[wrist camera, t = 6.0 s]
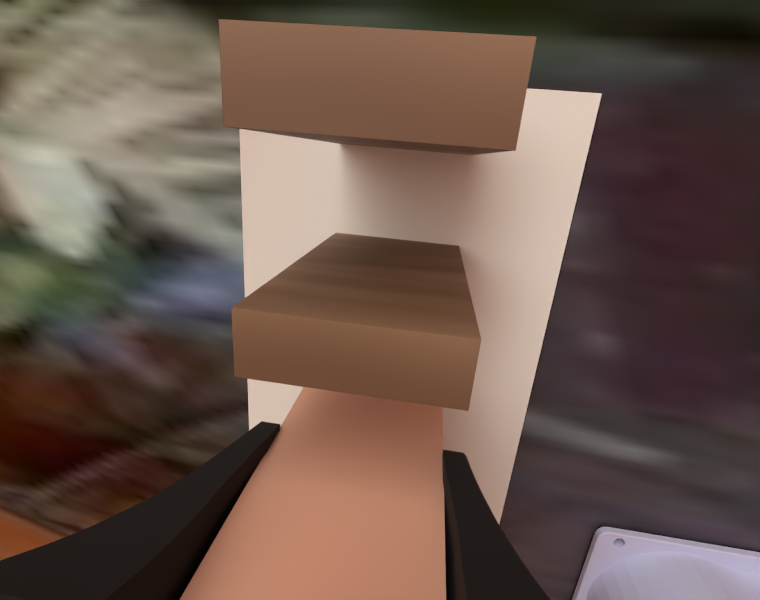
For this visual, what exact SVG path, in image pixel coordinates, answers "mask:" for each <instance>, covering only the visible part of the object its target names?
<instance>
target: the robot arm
mask: <svg viewBox="0 0 760 600" xmlns="http://www.w3.org/2000/svg"><path fill="white" fill-rule="evenodd" d="M279 430H280V424H276V423H270V422H263V421H261V422H260V423H259V424H257V425H256V426H255V427H253V428H252V429H250V430H249V431H248V432H247V433H245V434H244V435H243V436H241V437H240V438H239V439H237V440H236V441H235V442H233V443H232V444H231V445H229V446H228V447H227V448H225V449H224V450H223V451H221V452H220V453H219V454H217V455H216V456H214V457H213V458H212V459H210V460H209V461H208V462H206V463H205V464H203V465H202V466H200V467H199V468H197V469H196V470H194V471H193V472H191V473H190V474H188V475H187V476H185V477H184V478H182V479H181V480H179V481H178V482H176V483H174V484H173V485H171V486H169V487H168V488H166V489H164V490H163V491H161V492H159V493H157V494H156V495H154V496H152V497H150V498H148V499H147V500H145V501H143V502H141V503H139V504H137V505H135V506H133V507H131V508H129V509H127V510H125V511H123V512H121V513H119V514H117V515H115V516H113V517H111V518H109V519H107V520H104V521H102V522H100V523H98V524H96V525H93V526H91V527H89V528H86V529H84V530H82V531H80V532H77V533H75V534H72V535H70V536H67V537H65V538H62V539H60V540H57V541H55V542H52V543H49V544H47V545H44V546H41V547H38V548H36V549H33V550H30V551H27V552H24V553H21V554H18V555H15V556H12V557H10V558H7V559H4V560H1V561H0V600H180V598H181V596H182V595H183V593H184V591H185V589H186V588H187V586H188V584H189V583H190V581H191V579H192V577H193V576H194V574H195V572H196V571H197V569H198V567H199V565H200V564H201V562H202V560H203V559H204V557H205V555H206V553H207V552H208V550H209V548H210V547H211V545H212V543H213V541H214V540H215V538H216V536H217V535H218V533H219V531H220V529H221V528H222V526H223V524H224V523H225V521H226V519H227V517H228V516H229V514H230V512H231V511H232V509H233V507H234V505H235V504H236V502H237V500H238V499H239V497H240V495H241V494H242V492H243V490H244V488H245V487H246V485H247V483H248V482H249V480H250V478H251V476H252V475H253V473H254V471H255V470H256V468H257V466H258V464H259V463H260V461H261V459H262V458H263V457H264V455H265V454H266V452H267V451H268V449H269V448H270V446H271V444H272V442H273V441H274V439H275V437H276V436H277V434H278V432H279ZM442 467H443V486H444V510H445V563H446V600H550V598H549V597H548V596H547V595H546V593H545V592H544V591H543V590H542V588H541V587H540V585H539V584H538V583H537V581H536V580H535V579H534V577H533V576H532V575H531V573H530V572H529V571H528V569H527V568H526V566H525V565H524V563H523V562H522V560H521V559H520V558H519V556H518V555H517V553H516V551H515V550H514V548H513V547H512V545H511V544H510V542H509V540H508V539H507V537H506V535H505V534H504V532H503V530H502V529H501V527H500V525H499V524H498V522H497V520H496V518H495V517H494V515H493V513H492V511H491V509H490V507H489V505H488V503H487V501H486V499H485V498H484V496H483V494H482V492H481V489H480V487H479V485H478V483H477V481H476V479H475V476H474V474H473V472H472V469H471V467H470V464H469V462H468V459H467V456H466V455H465V454H464V453H462V452H456V451H450V450H443V453H442ZM616 539H618V540H616ZM572 600H760V552H755V551H749V550H743V549H737V548H731V547H725V546H719V545H713V544H707V543H701V542H695V541H689V540H683V539H677V538H672V537H666V536H660V535H654V534H648V533H642V532H636V531H630V530H624V529H618V528H612V527H601V528H599V529H597V530H596V532H595V534H594V537H593V540H592V542H591V545H590V548H589V551H588V554H587V557H586V560H585V563H584V566H583V569H582V571H581V574H580V577H579V580H578V583H577V586H576V589H575V592H574V595H573V597H572Z"/></svg>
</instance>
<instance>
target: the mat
mask: <svg viewBox="0 0 760 600" xmlns="http://www.w3.org/2000/svg"><path fill="white" fill-rule="evenodd" d="M601 95H602V94H600V93H586V92H571V91H556V90H541V89H527V91H526V97H525V102H524V108H523V113H522V119H521V124H520V130H519V135H518V141H517V146H516V151H506V152H497V153H487V154H478V155H466V154H454V153H442V152H430V151H419V150H407V149H395V148H383V147H371V146H360V145H348V144H338V143H331V142H324V141H318V140H311V139H304V138H298V137H291V136H284V135H278V134H271V133H265V132H258V131H251V130H245V129H240V158H241V189H242V220H243V251H244V282H245V298H246V297H247V296H249V295H250V294H251V293H253V292H254V291H255V290H257V289H258V288H260V287H261V286H262V285H264V284H265V283H267V282H268V281H269V280H271V279H272V278H274V277H275V276H276V275H278V274H279V273H280V272H282V271H283V270H285V269H286V268H287V267H289V266H290V265H292V264H293V263H294V262H296V261H297V260H298V259H300V258H301V257H303V256H304V255H305V254H307V253H308V252H310V251H311V250H312V249H314V248H315V247H316V246H318V245H319V244H321V243H322V242H323V241H325V240H326V239H328V238H329V237H330V236H332V235H333V234H335V233H345V234H355V235H364V236H373V237H383V238H392V239H401V240H411V241H420V242H429V243H439V244H448V245H458V246H459V248H460V252H461V256H462V261H463V265H464V269H465V273H466V277H467V282H468V286H469V290H470V294H471V298H472V303H473V307H474V311H475V315H476V320H477V324H478V328H479V332H480V336H481V344H480V350H479V355H478V361H477V367H476V372H475V378H474V383H473V389H472V394H471V400H470V405H469V411H465V410H458V409H451V408H444V407H443V450H450V451H456V452H462V453H464V454H465V455H466V456H467V459H468V462H469V464H470V467H471V469H472V472H473V474H474V476H475V479H476V481H477V483H478V485H479V487H480V489H481V492H482V494H483V496H484V498H485V499H486V501H487V503H488V505H489V507H490V509H491V511H492V513H493V515H494V517H495V518H496V520H497V522H498V524H500V520H501V515H502V511H503V507H504V503H505V499H506V494H507V490H508V486H509V482H510V478H511V473H512V469H513V465H514V461H515V457H516V452H517V448H518V444H519V440H520V436H521V431H522V427H523V423H524V419H525V415H526V410H527V406H528V402H529V398H530V393H531V389H532V385H533V381H534V377H535V372H536V368H537V364H538V360H539V356H540V351H541V347H542V343H543V339H544V335H545V330H546V326H547V322H548V318H549V314H550V309H551V305H552V301H553V297H554V293H555V288H556V284H557V280H558V276H559V272H560V267H561V263H562V259H563V255H564V251H565V246H566V242H567V238H568V234H569V229H570V225H571V221H572V217H573V213H574V208H575V204H576V200H577V196H578V192H579V187H580V183H581V179H582V175H583V171H584V166H585V162H586V158H587V154H588V150H589V145H590V141H591V137H592V133H593V129H594V124H595V120H596V116H597V112H598V108H599V103H600V99H601ZM302 389H303V387H301V386H294V385H287V384H280V383H274V382H267V381H260V380H253V379H248V407H249V430H250V429H252V428H253V427H255V426H256V425H257V424H259V423H260V422H261V421H263V422H270V423H276V424H280V427H281V425H282V423H283V422H284V420H285V418H286V416H287V415H288V413H289V411H290V410H291V408H292V406H293V404H294V403H295V401H296V399H297V398H298V396H299V394H300V392H301V391H302Z"/></svg>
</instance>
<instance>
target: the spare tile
mask: <svg viewBox="0 0 760 600" xmlns="http://www.w3.org/2000/svg"><path fill="white" fill-rule="evenodd" d="M442 453H443V407H437V406H431V405H424V404H417V403H410V402H403V401H396V400H390V399H383V398H376V397H369V396H362V395H356V394H349V393H342V392H335V391H328V390H321V389H315V388H308V387H303V389H302V391H301V392H300V394H299V396H298V398H297V399H296V401H295V403H294V404H293V406H292V408H291V410H290V411H289V413H288V415H287V416H286V418H285V420H284V422H283V423H282V425H281V427H280V430H279V432H278V434H277V436H276V437H275V439H274V441H273V442H272V444H271V446H270V448H269V449H268V451H267V452H266V454H265V455H264V457H263V458H262V459H261V461H260V463H259V464H258V466H257V468H256V470H255V471H254V473H253V475H252V476H251V478H250V480H249V482H248V483H247V485H246V487H245V488H244V490H243V492H242V494H241V495H240V497H239V499H238V500H237V502H236V504H235V505H234V507H233V509H232V511H231V512H230V514H229V516H228V517H227V519H226V521H225V523H224V524H223V526H222V528H221V529H220V531H219V533H218V535H217V536H216V538H215V540H214V541H213V543H212V545H211V547H210V548H209V550H208V552H207V553H206V555H205V557H204V559H203V560H202V562H201V564H200V565H199V567H198V569H197V571H196V572H195V574H194V576H193V577H192V579H191V581H190V583H189V584H188V586H187V588H186V589H185V591H184V593H183V595H182V596H181V598H180V600H446V563H445V510H444V486H443V467H442Z"/></svg>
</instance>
